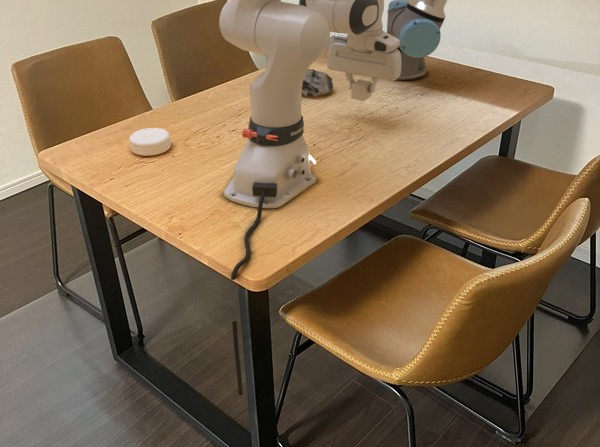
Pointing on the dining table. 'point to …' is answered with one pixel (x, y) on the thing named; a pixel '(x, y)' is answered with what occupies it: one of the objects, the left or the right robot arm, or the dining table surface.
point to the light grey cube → (360, 90)
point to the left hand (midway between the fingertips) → (362, 90)
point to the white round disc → (150, 141)
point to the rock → (316, 83)
